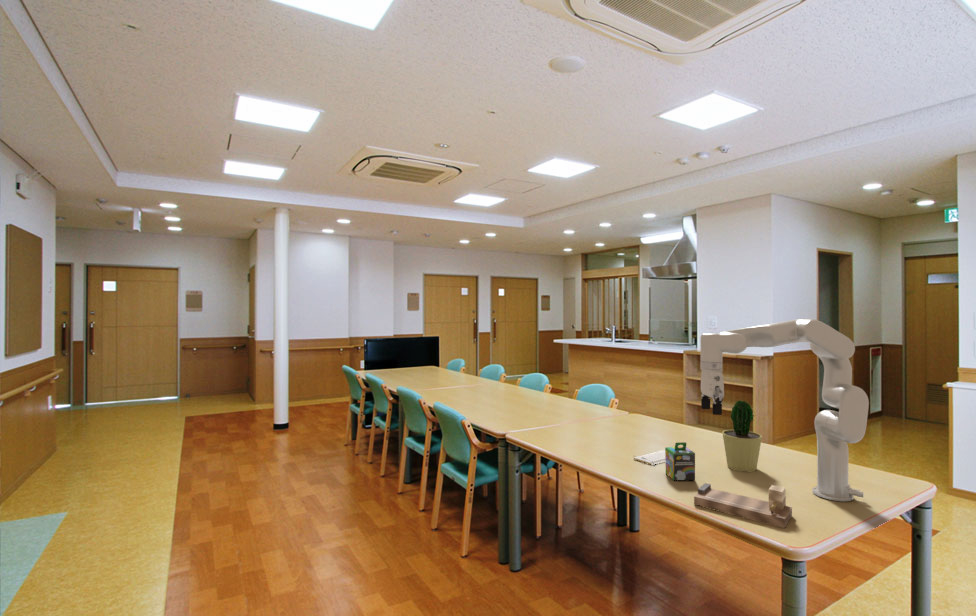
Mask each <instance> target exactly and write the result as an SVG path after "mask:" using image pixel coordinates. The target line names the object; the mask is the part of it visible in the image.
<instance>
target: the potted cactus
mask: <svg viewBox="0 0 976 616" xmlns="http://www.w3.org/2000/svg"><path fill="white" fill-rule="evenodd" d="M747 401H748V400H736V401H735V403H734V404H733V406H732V407H731V408H732V409H730V410H729V411H730V412H731V413H730V412H729V415H730V420H731V422H732V424H731V426H732V429H727V430H725V429H724V430H723V431H722V438H723V445H724V452H725V458H726V465H727V468H729V467H730V468H729V469H731V468H732V469H731V470H733V469H735V470H734V471H737V470H738V471H737V472H742V471H747V472H746V473H751V472H750V471H753V472H756V471H757V468H758V461H759V456H760V451H761V450H760V449H761V445H762V444H761V443H762V437H763V436H762V435H761V434H760V433H758V432H755V431H754V432H753V431H751V430H750V428H752V429H753V427H751V424H752V422H754V421H755V419H754V417H756V415H755V414H754V409H752V408H753V407H752V406H751V403H750V404H749V402H750V401H749V402H747ZM755 470H756V471H755Z"/></svg>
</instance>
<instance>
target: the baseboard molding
mask: <svg viewBox="0 0 976 616" xmlns="http://www.w3.org/2000/svg"><path fill="white" fill-rule="evenodd" d="M634 459H636V460H638V461H637V462H639V461H641V462H640V463H643V462H645V463H644V464H646V463H648V464H647V465H649V464H651V465H650V466H652V465H654V466H656V465H655V464H657V465H659V464H658V463H661V462H664V463H666V462H665V449H660V450H657V451H655V452H649V453H646V454H643V455H638V456H636V455H634V456H633V460H634ZM636 460H635V461H636ZM661 464H662V463H661Z"/></svg>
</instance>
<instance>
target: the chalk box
mask: <svg viewBox="0 0 976 616" xmlns="http://www.w3.org/2000/svg"><path fill="white" fill-rule="evenodd" d="M665 461H666V462H665V475H667V476H668V477H669V476H670V477H671V478H672V479H673V480H672V479H671V478H670V477H669V478H670V479H671V480H672V481H674V480H675V481H674V482H679V481H678V480H695V481H696V452H694V451H693V450H691V449H690V448H689V447H687V442H680V441H679V442H675V445H674V446H667V447H665ZM676 480H677V481H676Z"/></svg>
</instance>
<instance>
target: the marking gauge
mask: <svg viewBox="0 0 976 616" xmlns="http://www.w3.org/2000/svg"><path fill="white" fill-rule="evenodd" d="M786 499H787V496H786V487H784V486H778V485H773V484H771V485H770V487H769V488H768V502H769V507H770V508H769V510H770V511H771V513H773V510H774V509H775V508H776V509H780V510H783V508H784V507H785V506H787V500H786Z"/></svg>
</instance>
